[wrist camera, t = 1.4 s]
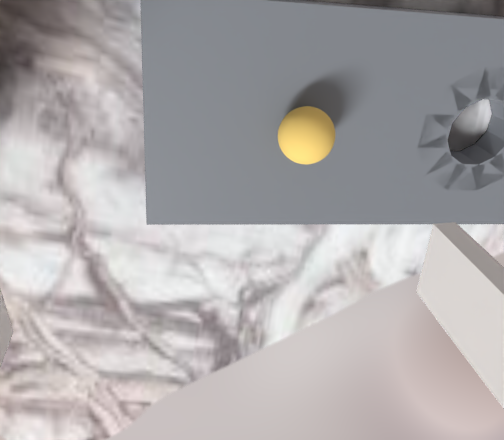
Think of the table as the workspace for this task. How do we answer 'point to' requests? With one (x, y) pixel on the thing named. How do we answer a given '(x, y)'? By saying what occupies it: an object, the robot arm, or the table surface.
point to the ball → (306, 135)
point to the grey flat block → (326, 99)
